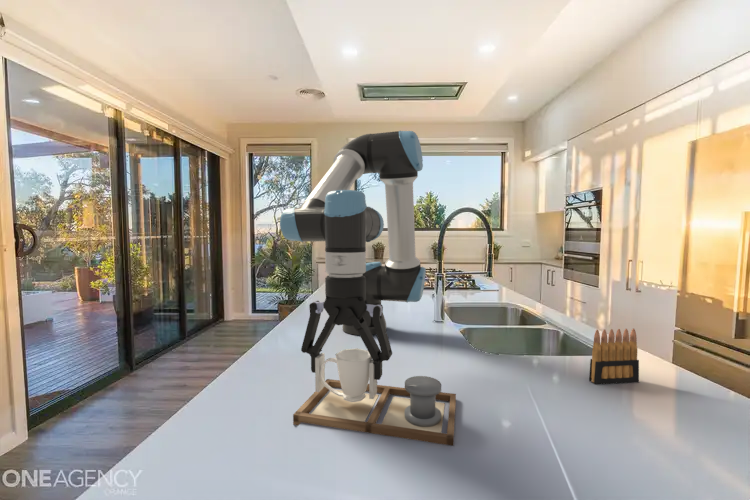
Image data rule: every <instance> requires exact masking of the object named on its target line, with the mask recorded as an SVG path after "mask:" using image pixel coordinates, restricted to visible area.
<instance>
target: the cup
mask: <svg viewBox="0 0 750 500" xmlns="http://www.w3.org/2000/svg"><path fill="white" fill-rule="evenodd" d="M371 360H372V357H371V355H370V354H369V352H368V350H367V349H362V348H347V349H343V350H340V351H339V352H337V353H336V354H335V357H329V358H327V359H325V362H324V363H323V364H322V367H321V370H320V379H321V382H322V383H323V385H324V386H325V387H326V388H327V389H329V392H330V391H331V392H332V393H334V394H336V395H338V396H340V397H343V398H344V400H346V401H349V402H358V401H362V400H363V399H364V398H365V397H366V395H365V393H366V392H367V391H366V389H367V386H368V384H369V363H370V362H371ZM328 362H331V363H335V364H336V365H337V372H338V380H340V383H341V387H342V388H341V390H342V391H343V393H340V392H338V391H336V390H337V389H335V388H334V387H331V386H329V385H328V384H327V383H326V382H325V381H326V380H325V381H324V378H323V375H322V374H323V368H324V365H325V366H326V364H327V363H328ZM334 389H335V390H334Z"/></svg>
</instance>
